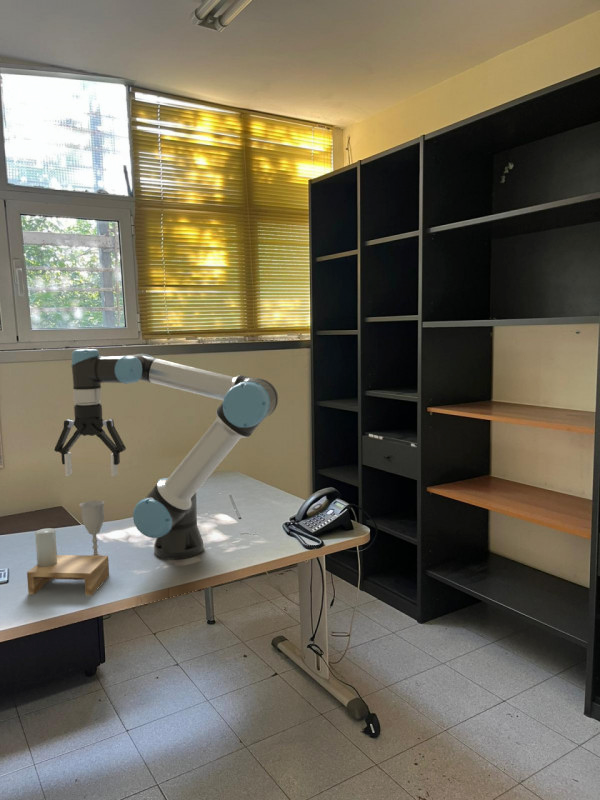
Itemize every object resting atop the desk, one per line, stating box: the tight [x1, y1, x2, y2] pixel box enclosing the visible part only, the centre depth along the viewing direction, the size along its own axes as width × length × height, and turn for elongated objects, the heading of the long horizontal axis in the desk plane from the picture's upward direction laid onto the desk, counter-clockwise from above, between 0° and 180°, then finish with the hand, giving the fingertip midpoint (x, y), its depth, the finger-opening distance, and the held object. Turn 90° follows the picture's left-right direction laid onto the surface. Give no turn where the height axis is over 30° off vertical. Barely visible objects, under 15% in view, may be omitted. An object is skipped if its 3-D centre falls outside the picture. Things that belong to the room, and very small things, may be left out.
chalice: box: [79, 499, 106, 556], centre depth 175 cm, size 7×7×18 cm
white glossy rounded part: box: [34, 527, 58, 567], centre depth 160 cm, size 5×5×9 cm
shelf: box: [26, 554, 110, 596], centre depth 160 cm, size 17×12×6 cm
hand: (91, 475), depth 172 cm, fingers open, 13 cm apart
